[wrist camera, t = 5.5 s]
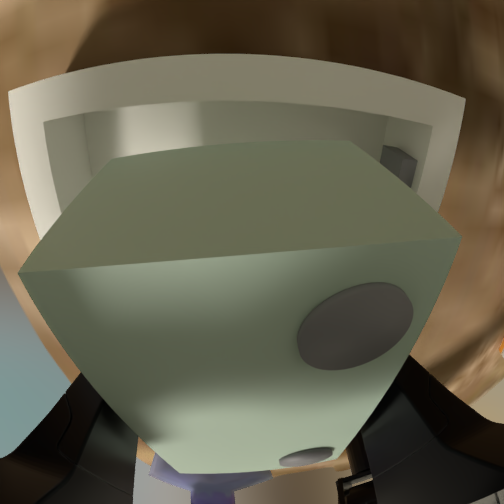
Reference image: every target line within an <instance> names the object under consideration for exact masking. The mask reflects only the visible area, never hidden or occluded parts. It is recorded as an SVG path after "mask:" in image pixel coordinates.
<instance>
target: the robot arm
mask: <svg viewBox="0 0 504 504" xmlns="http://www.w3.org/2000/svg"><path fill="white" fill-rule="evenodd" d="M137 443H138V435H137V434H136V433H135V432H134V431H133V430H132V429H131V428H130V427H129V426H128V425H127V424H126V423H125V422H124V421H123V420H122V419H121V418H120V417H119V416H118V415H117V414H116V413H115V411H114V410H113V409H112V408H111V407H110V406H109V405H108V404H107V403H106V401H105V400H104V399H103V398H102V397H101V396H100V394H99V393H98V392H97V391H96V390H95V389H94V387H93V386H92V385H91V384H90V382H89V381H88V380H87V379H86V377H85V376H84V375H83V374H82V372H81V373H80V374H79V375H78V377H77V378H76V379H75V380H74V382H73V383H72V384H71V385H70V387H69V388H68V389H67V391H66V394H64V395H63V396H62V397H61V398H60V400H59V401H58V402H57V403H56V405H55V406H54V407H53V408H52V410H51V411H50V412H49V413H48V414H47V416H46V417H45V418H44V419H43V420H42V421H41V422H40V424H39V425H38V426H37V427H36V428H35V429H34V430H33V431H32V432H31V433H30V434H29V435H28V437H26V439H25V440H24V441H23V442H22V443H21V444H20V445H19V446H18V447H17V448H16V449H15V450H14V451H13V452H11V453H10V454H8V455H7V456H5V457H3V458H0V504H133V488H134V474H135V463H136V453H137ZM346 451H347V455H348V460H349V464H350V468H351V472H352V476H349V477H345V478H339V479H338V481H336V485H337V491H338V504H504V424H501V423H495V422H492V421H490V420H488V419H486V418H484V417H483V416H481V415H480V414H479V413H477V412H476V411H475V410H474V409H472V408H471V407H470V406H468V405H467V404H466V403H464V402H463V401H462V400H460V399H459V398H458V397H457V396H455V395H454V394H453V393H452V392H450V391H449V390H448V389H447V388H446V387H445V386H443V385H442V384H441V383H440V382H439V381H438V380H437V379H436V378H434V377H433V376H432V375H431V374H430V375H429V372H428V371H427V370H426V369H425V368H424V367H422V366H421V365H420V364H419V363H418V362H417V361H416V360H415V359H414V358H413V357H411V356H410V355H408V357H407V359H406V360H405V362H404V364H403V366H402V367H401V369H400V371H399V372H398V374H397V376H396V377H395V379H394V380H393V382H392V384H391V385H390V387H389V388H388V390H387V391H386V393H385V395H384V396H383V398H382V399H381V401H380V402H379V403H378V405H377V406H376V408H375V409H374V411H373V412H372V414H371V415H370V416H369V418H368V419H367V421H366V422H365V423H364V425H363V426H362V427H361V429H360V430H359V431H358V433H357V434H356V435H355V437H354V438H353V439H352V441H351V442H350V443H349V444H348V446H347V447H346ZM370 478H373V480H372V481H369V482H366V483H363V484H360V485H357V486H354V487H352V484H354V483H358V482H361V481H364V480H367V479H370Z"/></svg>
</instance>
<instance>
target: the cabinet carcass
mask: <svg viewBox="0 0 504 504" xmlns="http://www.w3.org/2000/svg"><path fill="white" fill-rule="evenodd" d="M8 94H9V104H10V113H11V121H12V128H13V134H14V140H15V146H16V151H17V156H18V161H19V166H20V170H21V175H22V179H23V183H24V187H25V191H26V195H27V199H28V202H29V206H30V209H31V213H32V216H33V219H34V222H35V225H36V229H37V232H38V235H39V238H40V240H41V239H42V238H43V237H44V235H45V234H46V233H47V231H48V230H49V229H50V228H51V226H52V225H53V224H54V223H55V221H56V220H57V219H58V218H59V216H60V215H61V214H62V213H63V212H64V210H65V209H66V208H67V207H68V206H69V204H70V203H71V202H72V201H73V200H74V199H75V197H76V196H77V195H78V194H79V193H80V192H81V191H82V190H83V188H84V187H85V186H86V185H87V184H88V183H89V182H90V181H91V180H92V179H93V178H94V177H95V175H96V174H97V173H98V172H99V171H100V170H101V169H102V168H103V167H104V166H105V165H106V164H107V163H108V162H109V161H110V160H111V159H113V158H119V157H125V156H131V155H137V154H143V153H150V152H157V151H164V150H172V149H180V148H188V147H197V146H207V145H219V144H231V143H246V142H264V141H294V140H340V141H351V142H352V143H354V144H355V145H356V146H358V147H359V148H360V149H362V150H363V151H365V152H366V153H367V154H369V155H370V156H371V157H372V158H374V159H375V160H376V161H378V162H379V163H380V164H381V165H383V166H384V167H385V168H387V169H388V170H389V171H390V172H392V173H393V174H394V175H395V176H396V177H398V178H399V179H400V180H401V181H402V182H404V183H405V184H406V185H407V186H408V187H410V188H411V189H412V190H413V191H414V192H415V193H416V194H418V195H419V196H420V197H421V198H422V199H423V200H424V201H425V202H427V203H428V204H429V205H430V206H431V207H432V208H433V209H434V210H435V211H436V212H437V213H438V211H439V208H440V205H441V201H442V198H443V195H444V192H445V188H446V185H447V182H448V178H449V174H450V171H451V167H452V163H453V159H454V155H455V151H456V147H457V142H458V138H459V133H460V129H461V124H462V118H463V113H464V107H465V101H466V99H465V98H463V97H460V96H457V95H455V94H452V93H449V92H447V91H444V90H441V89H438V88H435V87H432V86H429V85H426V84H423V83H420V82H416V81H413V80H410V79H406V78H403V77H399V76H395V75H391V74H387V73H383V72H379V71H375V70H370V69H366V68H361V67H356V66H351V65H345V64H340V63H334V62H327V61H321V60H313V59H305V58H297V57H286V56H274V55H257V54H193V55H176V56H164V57H154V58H145V59H137V60H130V61H124V62H117V63H112V64H106V65H101V66H96V67H91V68H86V69H82V70H77V71H73V72H69V73H65V74H62V75H58V76H54V77H51V78H47V79H44V80H41V81H37V82H34V83H31V84H28V85H25V86H22V87H19V88H16V89H14V90H11V91H8Z"/></svg>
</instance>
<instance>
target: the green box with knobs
mask: <svg viewBox="0 0 504 504" xmlns="http://www.w3.org/2000/svg"><path fill="white" fill-rule="evenodd" d="M461 238H462V236H461V235H460V234H459V233H458V232H457V231H456V230H455V229H454V228H453V227H452V226H451V225H450V224H449V223H448V222H447V221H446V220H445V219H444V218H443V217H442V216H441V215H440V214H438V213H437V212H436V211H435V210H434V209H433V208H432V207H431V206H430V205H429V204H428V203H427V202H425V201H424V200H423V199H422V198H421V197H420V196H419V195H418V194H416V193H415V192H414V191H413V190H412V189H411V188H410V187H408V186H407V185H406V184H405V183H404V182H402V181H401V180H400V179H399V178H398V177H396V176H395V175H394V174H393V173H392V172H390V171H389V170H388V169H387V168H385V167H384V166H383V165H381V164H380V163H379V162H378V161H376V160H375V159H374V158H372V157H371V156H370V155H369V154H367V153H366V152H365V151H363V150H362V149H360V148H359V147H358V146H356V145H355V144H354V143H352V142H351V141H340V140H294V141H264V142H246V143H231V144H219V145H207V146H197V147H188V148H180V149H172V150H164V151H157V152H150V153H143V154H137V155H131V156H125V157H119V158H113V159H111V160H110V161H109V162H108V163H107V164H106V165H105V166H104V167H103V168H102V169H101V170H100V171H99V172H98V173H97V174H96V175H95V177H94V178H93V179H92V180H91V181H90V182H89V183H88V184H87V185H86V186H85V187H84V188H83V190H82V191H81V192H80V193H79V194H78V195H77V196H76V197H75V199H74V200H73V201H72V202H71V203H70V204H69V206H68V207H67V208H66V209H65V210H64V212H63V213H62V214H61V215H60V216H59V218H58V219H57V220H56V221H55V223H54V224H53V225H52V226H51V228H50V229H49V230H48V231H47V233H46V234H45V235H44V237H43V238H42V239H41V241H40V242H39V243H38V245H37V246H36V247H35V249H34V250H33V251H32V253H31V254H30V256H29V257H28V258H27V260H26V261H25V263H24V264H23V266H22V267H21V269H20V270H19V272H18V275H19V277H20V278H21V280H22V282H23V284H24V286H25V288H26V290H27V291H28V293H29V295H30V297H31V298H32V300H33V302H34V304H35V305H36V307H37V309H38V310H39V312H40V313H41V315H42V317H43V318H44V320H45V321H46V323H47V325H48V326H49V328H50V329H51V331H52V332H53V334H54V335H55V337H56V338H57V340H58V341H59V343H60V344H61V345H62V347H63V348H64V350H65V351H66V352H67V354H68V355H69V357H70V358H71V359H72V361H73V362H74V363H75V365H76V366H77V367H78V369H79V370H80V371H81V372H82V374H83V375H84V376H85V377H86V379H87V380H88V381H89V382H90V384H91V385H92V386H93V387H94V389H95V390H96V391H97V392H98V393H99V394H100V396H101V397H102V398H103V399H104V400H105V401H106V403H107V404H108V405H109V406H110V407H111V408H112V409H113V410H114V411H115V413H116V414H117V415H118V416H119V417H120V418H121V419H122V420H123V421H124V422H125V423H126V424H127V425H128V426H129V427H130V428H131V429H132V430H133V431H134V432H135V433H136V434H137V435H138V436H139V437H140V438H141V439H142V440H143V441H144V442H145V443H146V444H147V445H148V446H149V447H150V448H151V449H152V450H154V451H155V452H156V453H157V454H158V455H159V456H160V457H161V458H162V459H164V460H165V461H166V462H167V463H168V464H169V465H170V466H172V467H173V468H174V469H175V470H176V471H178V472H179V473H186V474H217V473H240V472H254V471H264V470H274V469H282V468H289V467H298V466H305V465H310V464H314V463H319V462H324V461H329V460H334V459H337V458H338V457H339V455H340V454H341V453H342V452H343V451H344V449H345V448H346V447H347V446H348V444H349V443H350V442H351V441H352V439H353V438H354V437H355V435H356V434H357V433H358V431H359V430H360V429H361V427H362V426H363V425H364V423H365V422H366V421H367V419H368V418H369V416H370V415H371V414H372V412H373V411H374V409H375V408H376V406H377V405H378V403H379V402H380V401H381V399H382V398H383V396H384V395H385V393H386V391H387V390H388V388H389V387H390V385H391V384H392V382H393V380H394V379H395V377H396V376H397V374H398V372H399V371H400V369H401V367H402V366H403V364H404V362H405V360H406V359H407V357H408V355H409V354H410V352H411V350H412V348H413V346H414V344H415V343H416V341H417V339H418V337H419V335H420V333H421V331H422V329H423V327H424V325H425V323H426V322H427V319H428V317H429V315H430V313H431V311H432V309H433V307H434V305H435V303H436V301H437V298H438V296H439V294H440V292H441V289H442V287H443V285H444V283H445V280H446V278H447V275H448V273H449V270H450V268H451V265H452V263H453V260H454V258H455V255H456V252H457V250H458V247H459V244H460V241H461Z"/></svg>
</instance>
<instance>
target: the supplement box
mask: <svg viewBox="0 0 504 504" xmlns="http://www.w3.org/2000/svg"><path fill="white" fill-rule="evenodd" d="M499 351H500V353H501V355H502V356H503V358H504V338H503V340H502V342H501V345H500V347H499Z"/></svg>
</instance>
